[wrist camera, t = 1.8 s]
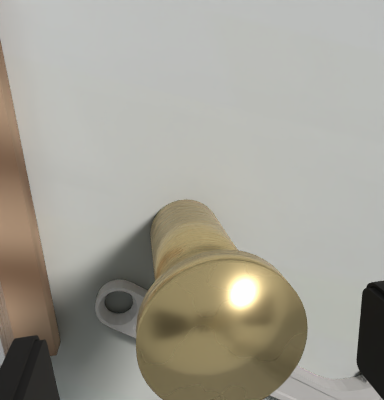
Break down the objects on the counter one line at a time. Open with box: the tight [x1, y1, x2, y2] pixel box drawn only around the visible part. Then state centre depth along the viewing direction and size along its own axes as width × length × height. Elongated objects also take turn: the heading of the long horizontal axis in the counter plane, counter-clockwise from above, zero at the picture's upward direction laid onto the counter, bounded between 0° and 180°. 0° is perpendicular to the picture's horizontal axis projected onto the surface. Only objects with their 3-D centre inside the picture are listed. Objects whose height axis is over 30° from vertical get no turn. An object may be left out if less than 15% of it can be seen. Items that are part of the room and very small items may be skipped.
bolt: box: [136, 200, 307, 400], centre depth 16 cm, size 6×6×10 cm
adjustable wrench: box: [95, 279, 383, 400], centre depth 24 cm, size 25×6×2 cm, turn 53°
